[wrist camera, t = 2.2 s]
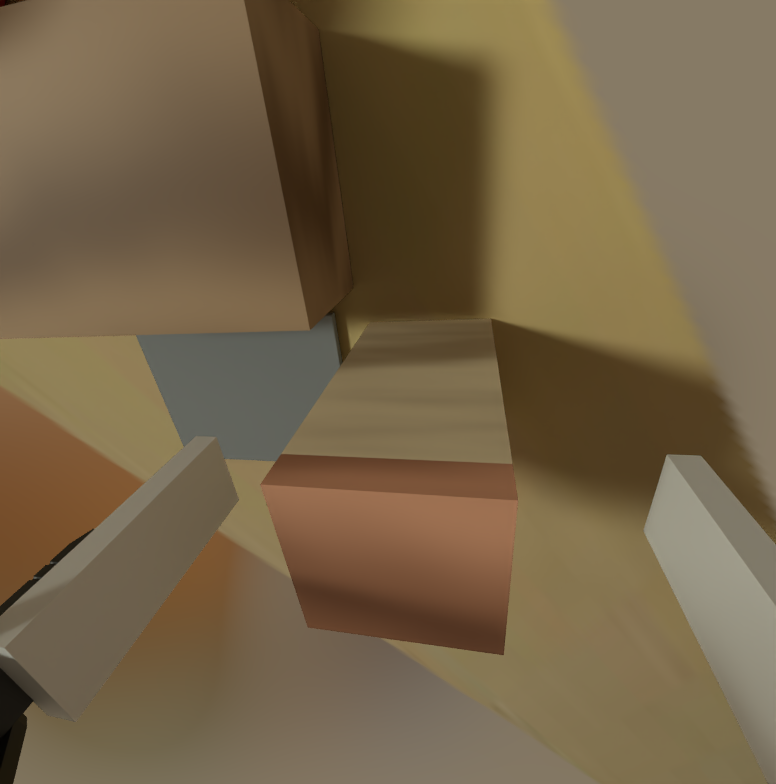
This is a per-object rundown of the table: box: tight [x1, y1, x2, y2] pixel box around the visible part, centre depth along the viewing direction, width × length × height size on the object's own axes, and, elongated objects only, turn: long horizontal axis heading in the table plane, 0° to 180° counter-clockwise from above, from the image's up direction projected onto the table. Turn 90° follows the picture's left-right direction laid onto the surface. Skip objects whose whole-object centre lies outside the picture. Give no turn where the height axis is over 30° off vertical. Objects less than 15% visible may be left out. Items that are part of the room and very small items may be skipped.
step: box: [0, 0, 353, 339], centre depth 13 cm, size 8×12×5 cm, turn 95°
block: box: [260, 319, 518, 655], centre depth 13 cm, size 5×5×10 cm
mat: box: [136, 313, 342, 461], centre depth 19 cm, size 8×10×1 cm
